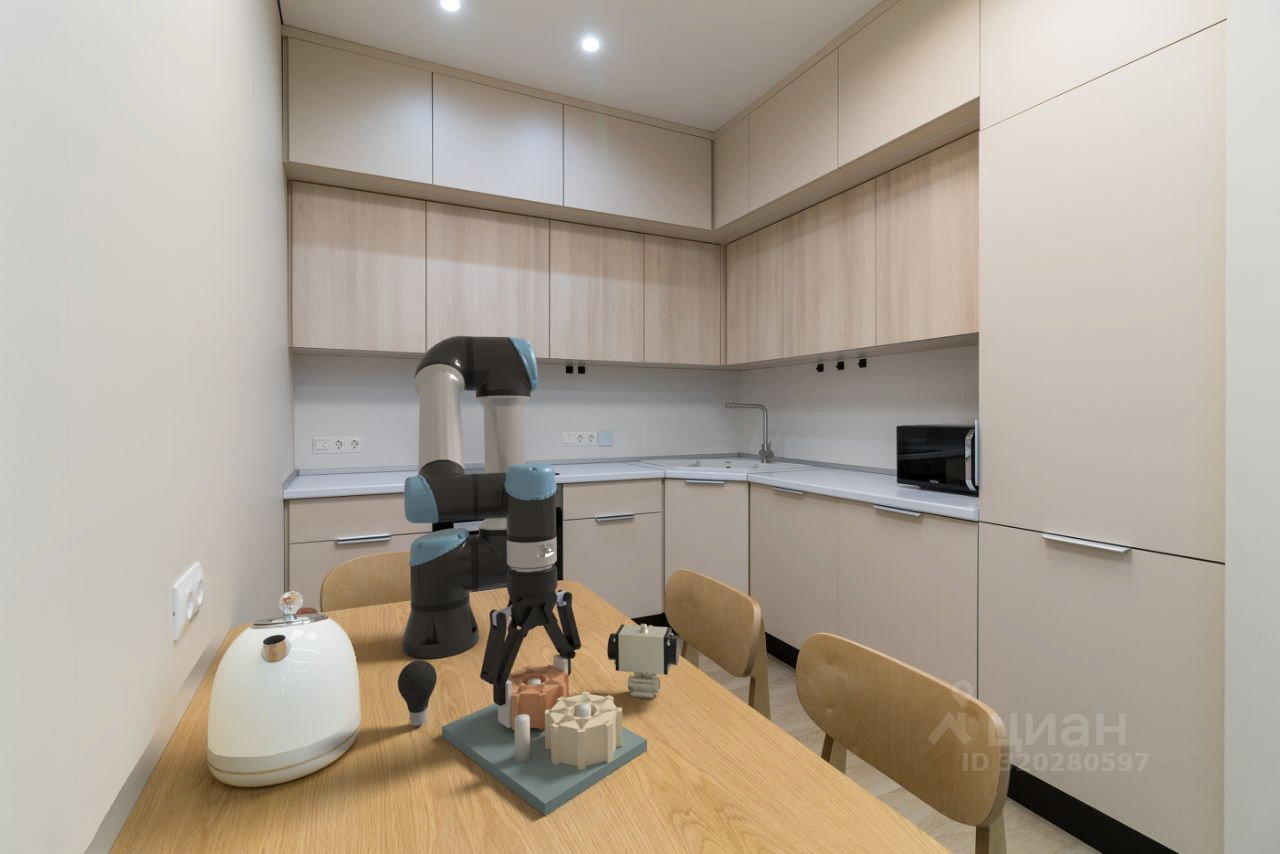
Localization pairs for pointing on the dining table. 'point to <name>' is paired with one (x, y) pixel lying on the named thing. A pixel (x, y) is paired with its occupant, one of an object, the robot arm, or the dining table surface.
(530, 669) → the loose gear
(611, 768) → the gear board
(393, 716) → the dining table surface
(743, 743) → the dining table surface
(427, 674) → the light bulb
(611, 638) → the pneumatic valve
